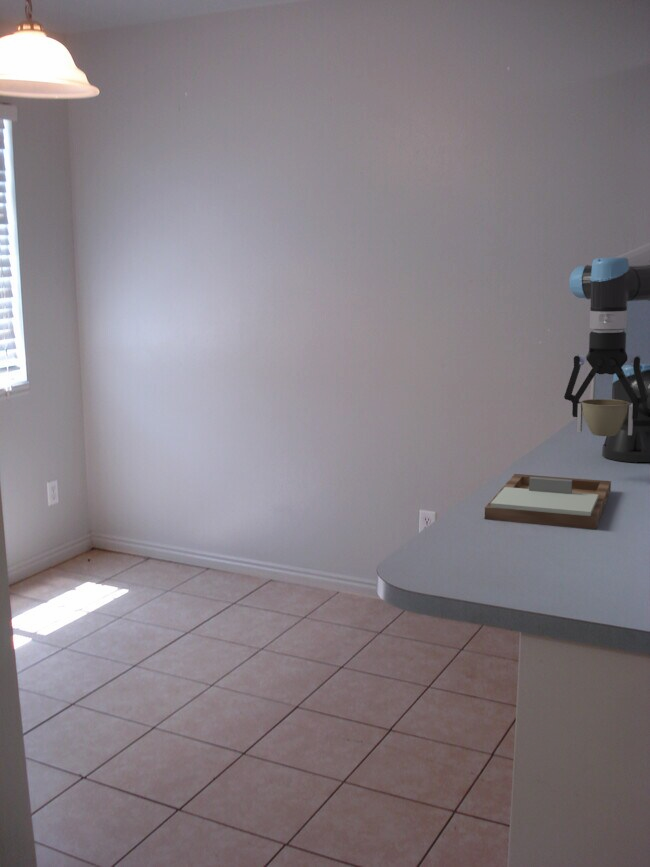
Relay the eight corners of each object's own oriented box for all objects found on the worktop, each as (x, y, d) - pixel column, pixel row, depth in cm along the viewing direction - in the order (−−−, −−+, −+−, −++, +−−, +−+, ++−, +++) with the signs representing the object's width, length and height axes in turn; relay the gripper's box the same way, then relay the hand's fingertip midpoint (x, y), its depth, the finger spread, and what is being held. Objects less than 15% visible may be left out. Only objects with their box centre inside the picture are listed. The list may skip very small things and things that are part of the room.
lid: (504, 490, 189) (505, 474, 188) (598, 498, 182) (598, 481, 182) (490, 507, 176) (491, 490, 175) (590, 516, 170) (591, 498, 169)
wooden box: (514, 483, 205) (514, 473, 205) (610, 491, 198) (610, 481, 197) (484, 518, 177) (484, 507, 176) (595, 529, 169) (596, 517, 169)
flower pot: (630, 439, 201) (632, 405, 200) (582, 438, 203) (583, 405, 202) (625, 430, 210) (627, 398, 209) (579, 429, 213) (580, 398, 211)
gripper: (551, 331, 203) (549, 433, 207) (663, 332, 195) (658, 438, 199) (556, 328, 210) (554, 427, 214) (664, 329, 202) (659, 432, 206)
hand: (604, 432), depth 207 cm, fingers closed on flower pot, 10 cm apart
